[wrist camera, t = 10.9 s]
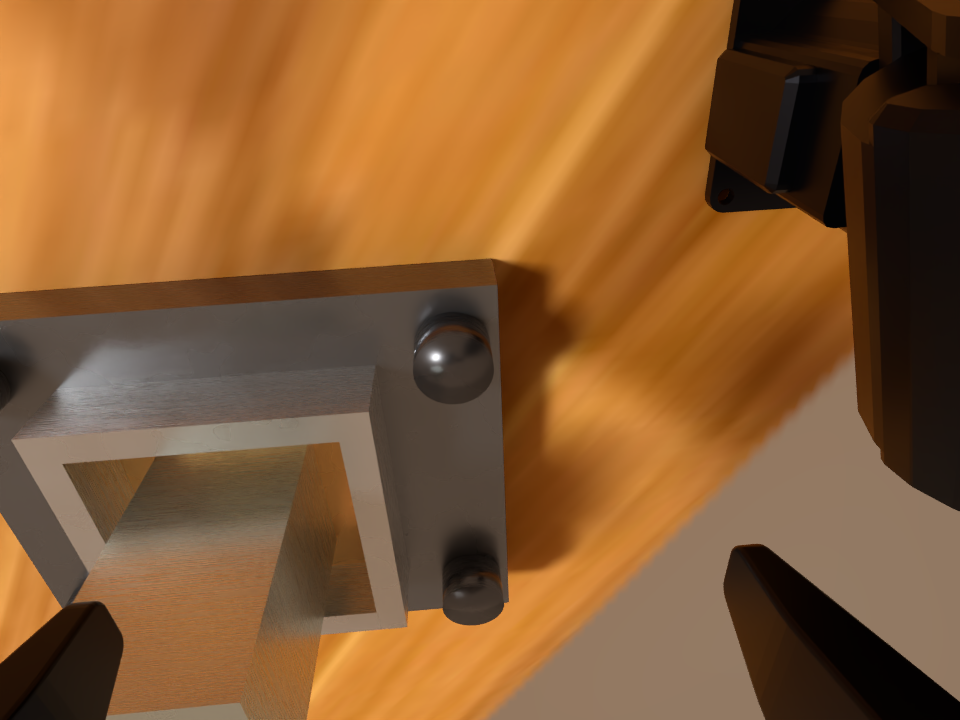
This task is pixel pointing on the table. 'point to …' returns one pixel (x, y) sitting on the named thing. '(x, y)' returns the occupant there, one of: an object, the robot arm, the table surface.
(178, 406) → the square hole base plate
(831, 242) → the table surface
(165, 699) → the brushed metal square peg
